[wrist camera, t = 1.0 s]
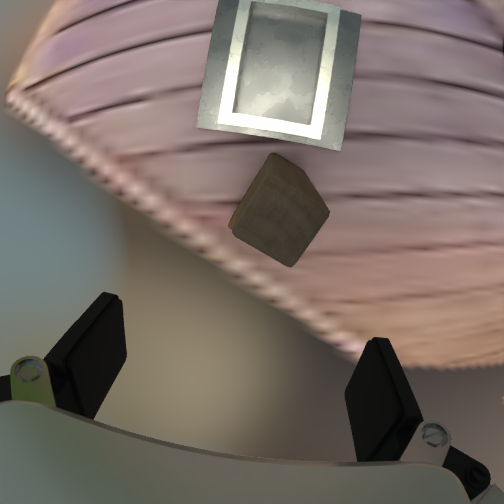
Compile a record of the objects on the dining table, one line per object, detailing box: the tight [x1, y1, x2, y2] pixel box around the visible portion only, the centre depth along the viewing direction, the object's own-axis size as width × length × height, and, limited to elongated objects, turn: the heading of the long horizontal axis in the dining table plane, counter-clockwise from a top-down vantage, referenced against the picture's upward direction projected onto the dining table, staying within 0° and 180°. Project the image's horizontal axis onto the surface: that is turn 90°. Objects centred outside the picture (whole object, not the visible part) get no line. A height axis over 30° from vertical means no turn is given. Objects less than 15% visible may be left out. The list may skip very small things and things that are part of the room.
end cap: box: [196, 0, 361, 151], centre depth 28 cm, size 16×17×4 cm
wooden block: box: [228, 152, 330, 267], centre depth 28 cm, size 9×4×18 cm, turn 149°
